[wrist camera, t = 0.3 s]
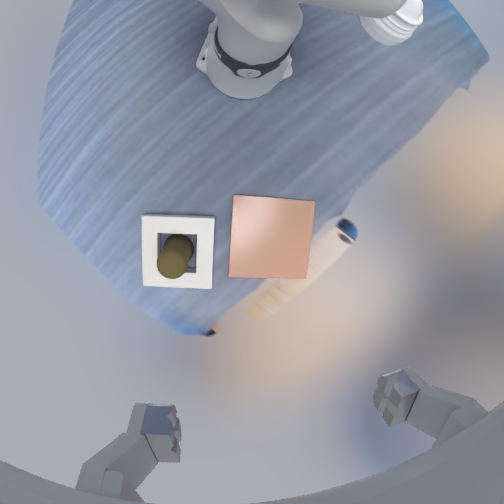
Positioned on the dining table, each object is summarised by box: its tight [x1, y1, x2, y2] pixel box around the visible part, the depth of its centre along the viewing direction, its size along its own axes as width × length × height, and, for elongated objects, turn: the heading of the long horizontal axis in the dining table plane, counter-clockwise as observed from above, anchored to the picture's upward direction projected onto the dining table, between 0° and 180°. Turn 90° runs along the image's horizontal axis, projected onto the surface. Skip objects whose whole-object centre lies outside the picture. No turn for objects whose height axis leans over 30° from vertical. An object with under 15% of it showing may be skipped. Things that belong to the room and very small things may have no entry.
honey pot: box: [359, 0, 423, 46], centre depth 37 cm, size 13×13×18 cm
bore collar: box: [142, 214, 215, 289], centre depth 52 cm, size 13×13×3 cm
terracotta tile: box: [229, 195, 315, 279], centre depth 55 cm, size 16×16×1 cm
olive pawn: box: [157, 234, 194, 279], centre depth 48 cm, size 6×6×11 cm
